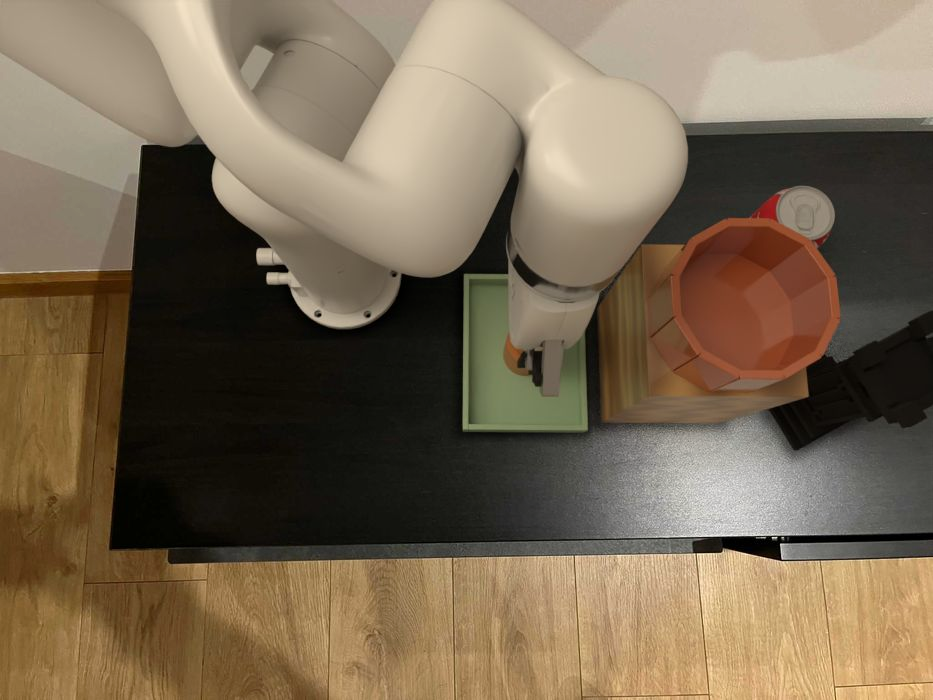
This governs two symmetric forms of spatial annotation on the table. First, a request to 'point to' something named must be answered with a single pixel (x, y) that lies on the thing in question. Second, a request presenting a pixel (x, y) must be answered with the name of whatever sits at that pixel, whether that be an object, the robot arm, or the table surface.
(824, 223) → the soda can
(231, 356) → the table surface
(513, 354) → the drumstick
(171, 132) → the robot arm
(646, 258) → the stand
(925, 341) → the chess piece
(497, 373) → the tray
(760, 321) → the pot
